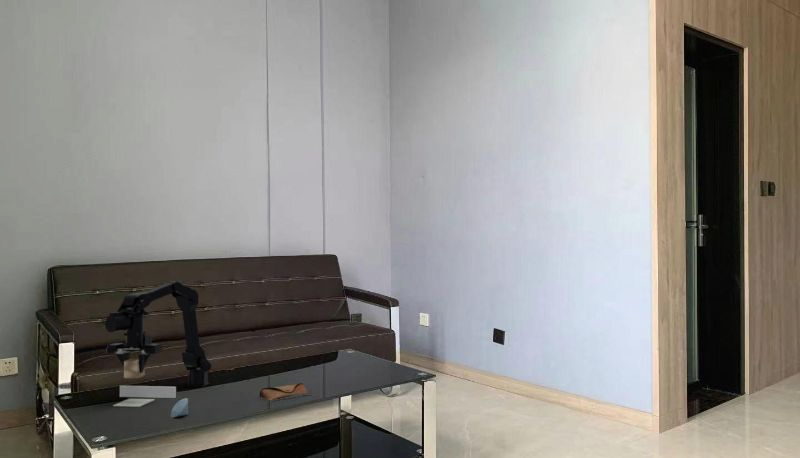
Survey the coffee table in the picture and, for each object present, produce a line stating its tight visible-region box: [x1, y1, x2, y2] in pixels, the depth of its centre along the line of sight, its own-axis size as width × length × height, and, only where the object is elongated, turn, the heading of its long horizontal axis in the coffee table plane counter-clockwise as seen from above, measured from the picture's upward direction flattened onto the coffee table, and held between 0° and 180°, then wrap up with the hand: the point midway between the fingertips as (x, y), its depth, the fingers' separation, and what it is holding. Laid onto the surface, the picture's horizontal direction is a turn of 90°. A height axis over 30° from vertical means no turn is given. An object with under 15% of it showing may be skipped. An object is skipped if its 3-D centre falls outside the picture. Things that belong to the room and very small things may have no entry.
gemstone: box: [170, 397, 189, 419], centre depth 205 cm, size 8×8×5 cm
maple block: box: [123, 358, 146, 379], centre depth 223 cm, size 5×5×6 cm
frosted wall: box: [119, 385, 177, 399], centre depth 232 cm, size 22×1×4 cm, turn 82°
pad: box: [112, 398, 156, 408], centre depth 223 cm, size 10×10×1 cm
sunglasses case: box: [259, 382, 308, 400], centre depth 231 cm, size 18×7×7 cm
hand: (134, 372), depth 223 cm, fingers closed on maple block, 5 cm apart
